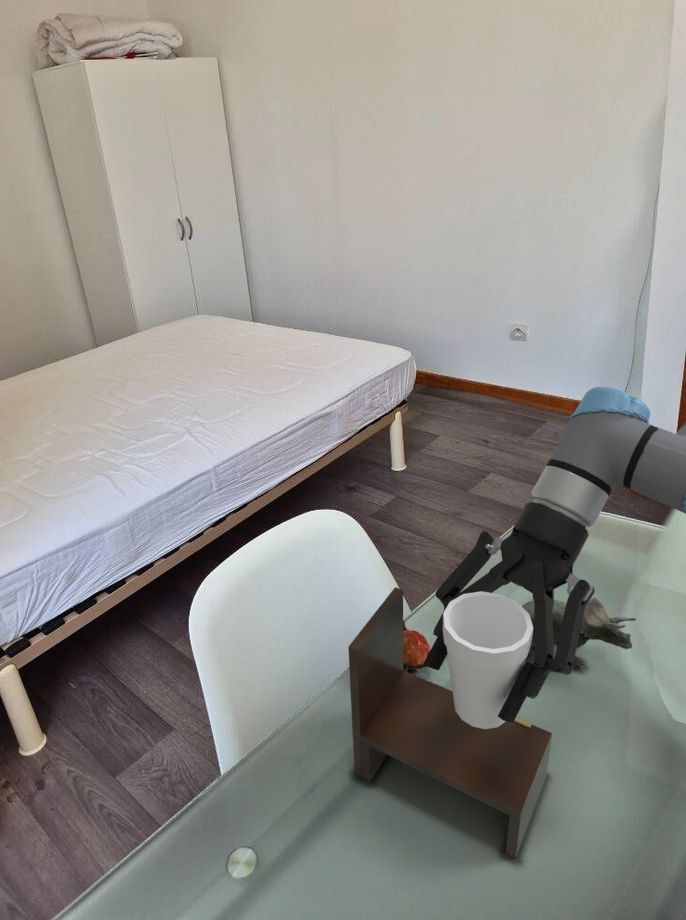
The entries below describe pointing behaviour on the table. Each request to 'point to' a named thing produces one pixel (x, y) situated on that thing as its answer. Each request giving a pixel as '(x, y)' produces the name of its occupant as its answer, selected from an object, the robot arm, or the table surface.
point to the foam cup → (485, 653)
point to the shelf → (438, 729)
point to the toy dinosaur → (588, 626)
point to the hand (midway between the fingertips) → (466, 692)
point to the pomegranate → (414, 649)
